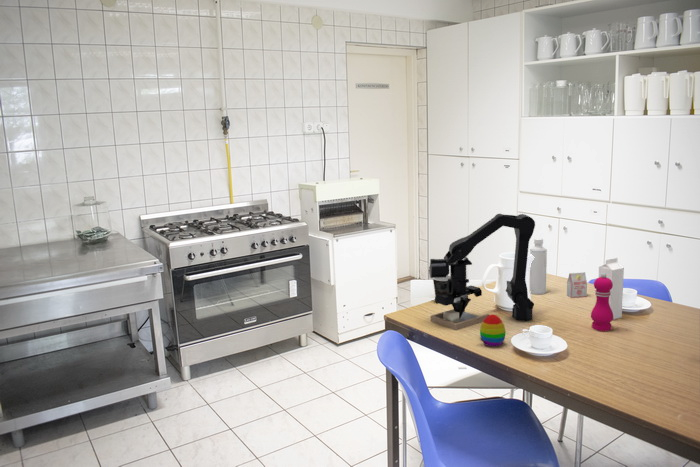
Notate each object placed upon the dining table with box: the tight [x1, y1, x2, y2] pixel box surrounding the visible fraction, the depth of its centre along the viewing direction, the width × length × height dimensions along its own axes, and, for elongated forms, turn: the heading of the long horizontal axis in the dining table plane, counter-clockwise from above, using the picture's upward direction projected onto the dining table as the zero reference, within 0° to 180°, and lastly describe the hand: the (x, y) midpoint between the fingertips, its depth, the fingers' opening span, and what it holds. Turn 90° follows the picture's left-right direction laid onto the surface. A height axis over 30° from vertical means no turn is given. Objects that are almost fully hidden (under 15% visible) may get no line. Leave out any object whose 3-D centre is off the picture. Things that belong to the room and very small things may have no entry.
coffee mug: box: [432, 275, 451, 297], centre depth 239 cm, size 12×9×10 cm
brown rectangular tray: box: [430, 308, 490, 331], centre depth 211 cm, size 13×17×4 cm
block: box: [442, 309, 459, 323], centre depth 208 cm, size 4×4×4 cm
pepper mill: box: [590, 273, 614, 332], centre depth 199 cm, size 7×7×20 cm
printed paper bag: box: [566, 272, 588, 299], centre depth 238 cm, size 4×7×10 cm, turn 97°
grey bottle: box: [529, 237, 548, 296], centre depth 244 cm, size 7×7×25 cm
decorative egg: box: [479, 314, 506, 347], centre depth 191 cm, size 8×8×10 cm
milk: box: [598, 257, 625, 321], centre depth 210 cm, size 6×6×22 cm
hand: (458, 317), depth 210 cm, fingers closed
